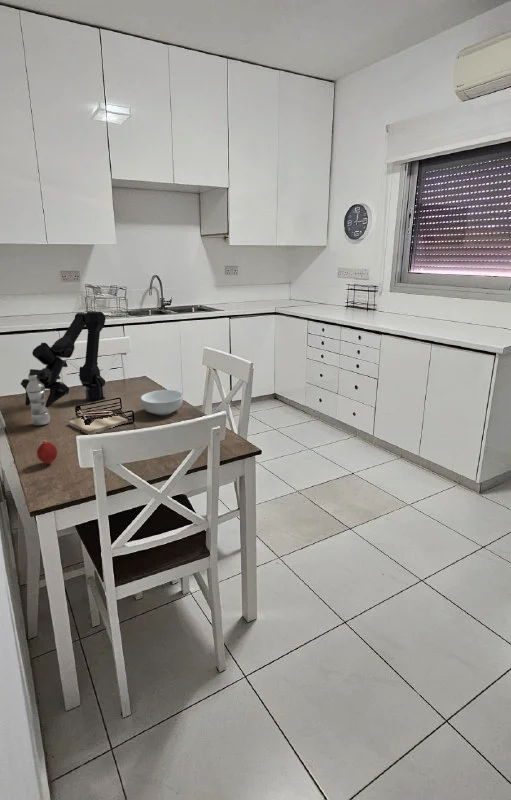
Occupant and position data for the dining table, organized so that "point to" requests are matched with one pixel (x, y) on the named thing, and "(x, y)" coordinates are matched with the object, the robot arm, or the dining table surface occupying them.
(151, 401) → the cereal bowl
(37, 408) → the plastic bottle
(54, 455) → the onion
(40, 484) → the dining table surface
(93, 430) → the birch board
